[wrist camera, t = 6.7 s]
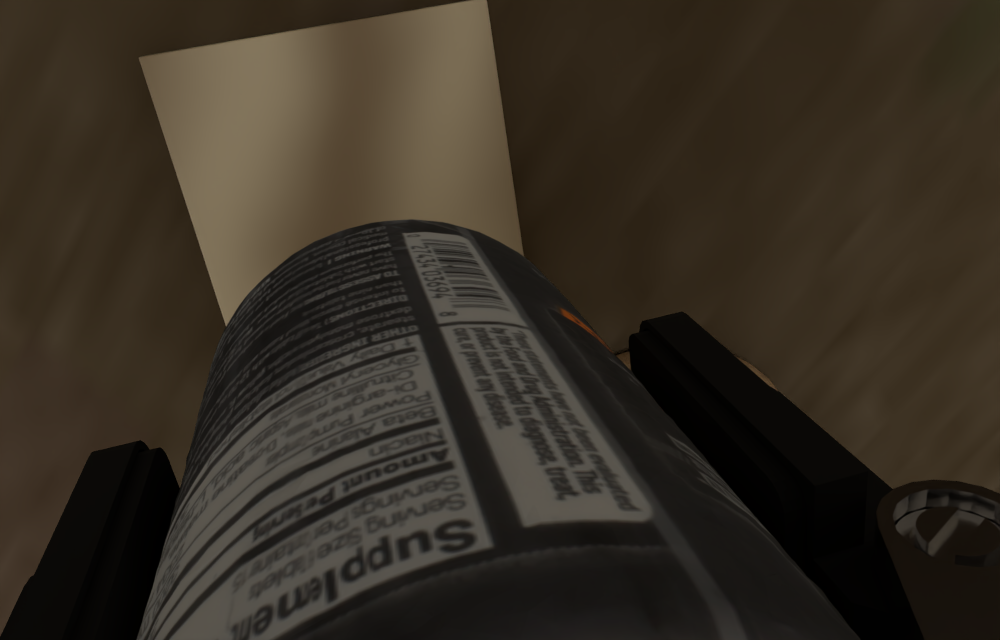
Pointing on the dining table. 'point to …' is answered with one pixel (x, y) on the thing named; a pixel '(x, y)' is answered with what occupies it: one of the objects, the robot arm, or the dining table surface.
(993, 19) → the dining table surface
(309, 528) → the pill bottle
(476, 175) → the coaster
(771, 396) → the robot arm
